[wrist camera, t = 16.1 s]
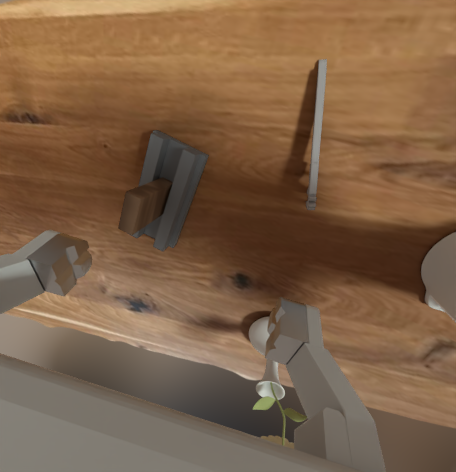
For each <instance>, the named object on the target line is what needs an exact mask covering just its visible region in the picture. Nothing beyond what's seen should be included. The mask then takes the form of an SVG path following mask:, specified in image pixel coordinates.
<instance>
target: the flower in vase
mask: <svg viewBox="0 0 456 472" xmlns="http://www.w3.org/2000/svg"><path fill="white" fill-rule="evenodd" d="M268 321H269V317H263V318H260V319H258V320H257V321H255V322H254V323H253V324H252V325H251V327H250V329H249V338H250V342H251V344H252V345H253V347H254V348H255V349H256V350H257V351H258V352H259V353H261V354H262V355H264V356H265V351H266V341H267V339H268V338H269V336H270V335H269V333H268V332H267V328H268ZM256 391H257V392H258V394H259V395H260V396H262V397H263V398H261V399H260V400H259V401H258V402H257V403H256V404H255V406H254V408H253V409H259V410H267V409H269V408H270V407H271V406H272V405H273V403H274V402H275V400H276V402H277V404H278V405H279V407H280V409H281V412H282V415H283V438H281V437H279V436H275V437H273V436H272V435H270V436H268V437H266V436H262V437H261V438H262V439H265V440H268V441H271V442H274V443H277V444H280V445H283V446H286V447H289V448H292V449H294V443H289V442H288V440H287V439H285V415H287V416H288V417H290V418H291V419H293V420H294V421H297V422H301V421H303V420H305V419H306V418H307V416H304V415H301V414H299V413H298V412H296V411H294V410H292V409H291V408H286V409H285V410H284V411H283V409H282V407H281V405H280V403H279V401H278V400H279V399H281V398H283V397H284V395H285V392H284V389H283V388H282V386H281V384H280V382H279V378H278V362H275V361H272V360H269V359H267V363H266V370H265V374H264V376H263V378H262V380H261V381H260V382H259V383H258V384H257V386H256ZM284 414H285V415H284Z"/></svg>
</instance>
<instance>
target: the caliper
mask: <svg viewBox="0 0 456 472" xmlns="http://www.w3.org/2000/svg"><path fill="white" fill-rule="evenodd" d="M326 64H327V59H324V60H319V66H318V76H317V88H316V101H315V114H314V127H313V139H312V152H311V164H310V173H309V187H308V190H307V194H308V201H306V207H307V210H315V207H316V202H315V201H316V199H317V198H316V191H317V179H318V167H319V151H320V140H321V128H322V116H323V104H324V93H325V81H326V69H327V68H326Z"/></svg>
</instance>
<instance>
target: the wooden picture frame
mask: <svg viewBox="0 0 456 472" xmlns="http://www.w3.org/2000/svg"><path fill="white" fill-rule="evenodd" d="M172 184H173V182H172V181H170V180H168V179H166V178H164V177H162V178H159V179H157V180H154V181H152V182H149V183H147V184H144V185H142V186H139V187H137V188H134V189H132V190H129V191H127V192H126V194H125V199H124V204H123V208H122V213H121V218H120V223H119V227H118V229H120V230H122V231H124V232H126V233H128V234H130V235H133V234H135V233H136V232H138V231H139V230H141V229H142V228H144V227H145V226H146V225H148V224H149V223H151V222H152V221H154V220H155V219H157V218H158V217H160V216H161V215H162V214H163V213H164V210H165V207H166V203H167V200H168V197H169V194H170V190H171V187H172Z"/></svg>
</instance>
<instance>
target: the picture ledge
mask: <svg viewBox="0 0 456 472" xmlns="http://www.w3.org/2000/svg"><path fill="white" fill-rule="evenodd" d="M208 156H209V155H207V154H205V153H203V152H201V151H199V150H197V149H195V148H193V147H191V146H189V145H187V144H185V143H183V142H181V141H179V140H177V139H175V138H173V137H171V136H169V135H167V134H165V133H163V132H161V131H158V130H153V133H151V136H150V140H149V144H148V148H147V153H146V157H145V161H144V165H143V169H142V174H141V178H140V182H139V186H142V185H144V184H147V183H149V182H152V181H154V180H157V179H159V178H162V177H164V178H166V179H168V180H170V181H172V182H173V184H172V187H171V190H170V194H169V197H168V200H167V203H166V207H165V210H164V213H163V214H162V215H161V216H160V217H158V218H157V219H155V220H154V221H152V222H151V223H149V224H148V225H146V226H145V227H144V228H142V229H141V230H139V231H138V232H136V233H135V234H133V235H131V236H133V237H135V238H138V237H140V236H141V235H142V234H146V235H148V236H150V237H152V238H154V239H155V242H154V245H153V247H155V248H157V249H159V250H161V251H164V250H165V249H166V248H167V247H168V246H170V247H172V248H174V246H175V245H176V244H177V241H178V238H179V235H180V233H181V230H182V227H183V224H184V222H185V219H186V216H187V213H188V211H189V208H190V205H191V203H192V200H193V197H194V194H195V192H196V189H197V186H198V183H199V181H200V178H201V175H202V173H203V170H204V167H205V164H206V162H207V159H208ZM139 186H138V187H139Z"/></svg>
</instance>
